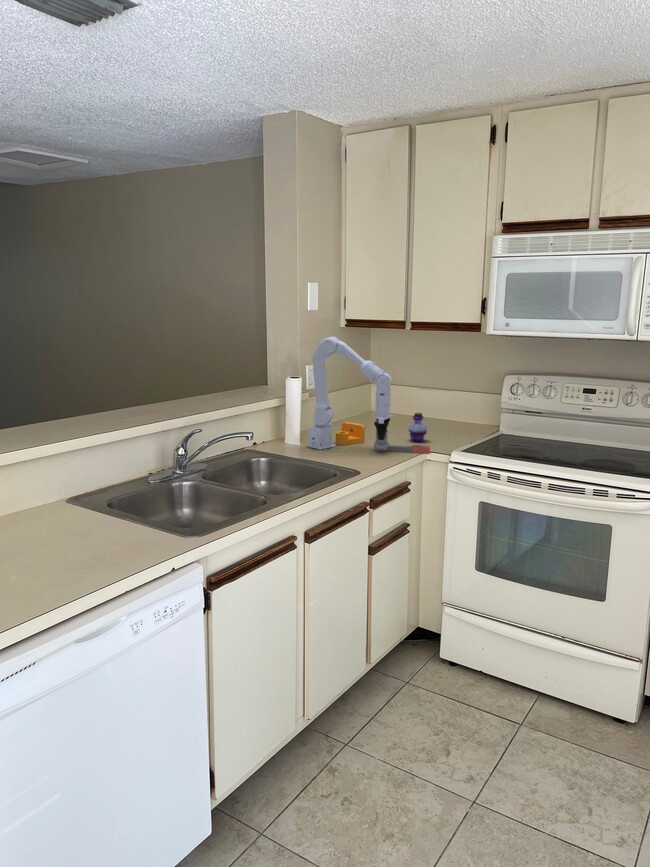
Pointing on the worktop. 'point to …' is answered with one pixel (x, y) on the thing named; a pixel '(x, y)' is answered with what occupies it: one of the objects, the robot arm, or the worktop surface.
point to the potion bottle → (417, 428)
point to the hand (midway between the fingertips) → (381, 438)
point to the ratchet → (401, 448)
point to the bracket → (350, 434)
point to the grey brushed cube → (382, 440)
